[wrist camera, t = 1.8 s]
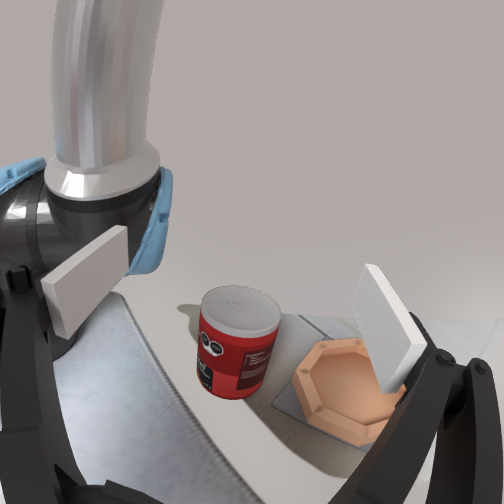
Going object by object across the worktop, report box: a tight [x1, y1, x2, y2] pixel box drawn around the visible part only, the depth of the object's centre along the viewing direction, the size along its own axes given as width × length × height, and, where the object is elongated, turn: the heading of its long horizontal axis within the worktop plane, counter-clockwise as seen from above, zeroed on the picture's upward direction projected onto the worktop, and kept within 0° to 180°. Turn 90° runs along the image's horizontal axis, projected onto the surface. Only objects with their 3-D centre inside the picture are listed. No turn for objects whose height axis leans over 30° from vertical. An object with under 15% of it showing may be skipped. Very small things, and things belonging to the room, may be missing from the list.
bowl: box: [292, 338, 406, 446], centre depth 31 cm, size 16×16×2 cm
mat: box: [271, 335, 374, 453], centre depth 31 cm, size 16×16×1 cm
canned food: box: [197, 286, 281, 400], centre depth 30 cm, size 8×8×11 cm
